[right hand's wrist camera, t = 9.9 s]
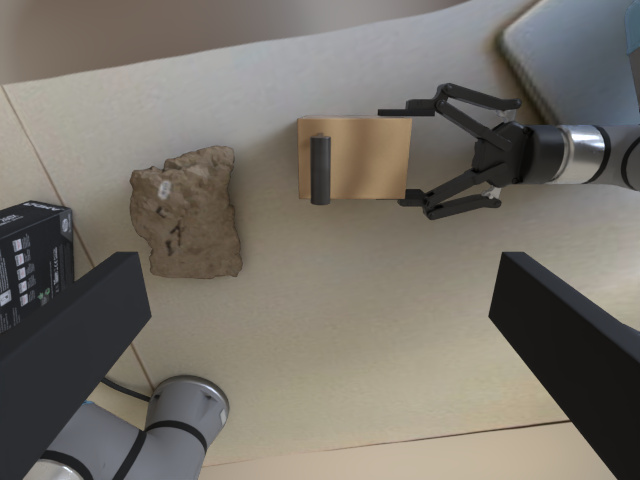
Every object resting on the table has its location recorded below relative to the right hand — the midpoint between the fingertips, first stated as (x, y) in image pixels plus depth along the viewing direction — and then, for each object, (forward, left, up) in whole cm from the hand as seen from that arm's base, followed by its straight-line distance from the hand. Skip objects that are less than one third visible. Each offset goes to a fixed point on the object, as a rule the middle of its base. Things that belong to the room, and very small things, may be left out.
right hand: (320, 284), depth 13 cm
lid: (+4, 0, -32) cm, 32 cm away
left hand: (+8, 0, -35) cm, 35 cm away
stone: (-19, -10, -41) cm, 46 cm away
